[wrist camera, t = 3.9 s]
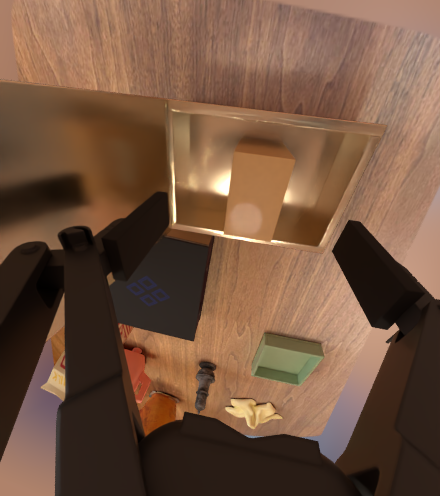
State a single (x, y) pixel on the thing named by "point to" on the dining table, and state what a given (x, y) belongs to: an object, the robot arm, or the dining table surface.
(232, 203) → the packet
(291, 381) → the tray
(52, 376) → the milk carton
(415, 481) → the robot arm
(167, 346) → the dining table surface
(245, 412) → the cloth
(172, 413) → the vase
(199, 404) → the dark chess piece
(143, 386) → the teapot
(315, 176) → the gold metal box
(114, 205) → the lid
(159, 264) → the book
